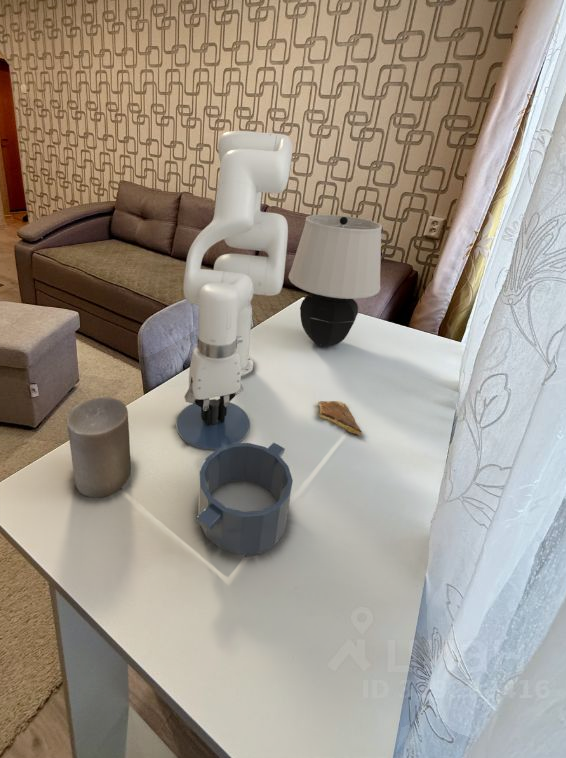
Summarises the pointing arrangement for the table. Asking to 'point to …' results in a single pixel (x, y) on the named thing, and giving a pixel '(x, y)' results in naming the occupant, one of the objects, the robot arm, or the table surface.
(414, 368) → the table surface
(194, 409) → the lid
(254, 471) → the pot
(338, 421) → the cake slice
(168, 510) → the table surface
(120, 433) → the pillar candle
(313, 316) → the table lamp
